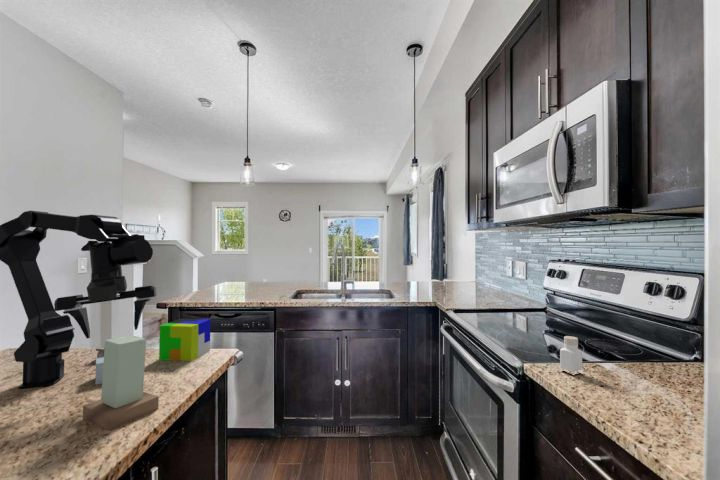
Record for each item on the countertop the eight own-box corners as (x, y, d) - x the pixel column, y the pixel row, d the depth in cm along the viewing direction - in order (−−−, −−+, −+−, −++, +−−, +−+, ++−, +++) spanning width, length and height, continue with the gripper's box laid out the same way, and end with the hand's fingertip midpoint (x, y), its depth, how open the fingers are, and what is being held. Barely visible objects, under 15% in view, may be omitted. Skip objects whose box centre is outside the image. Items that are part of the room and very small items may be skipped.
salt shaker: (573, 376, 88) (573, 340, 89) (559, 371, 92) (559, 336, 92) (583, 374, 90) (583, 338, 90) (568, 369, 94) (568, 335, 94)
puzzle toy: (209, 350, 108) (210, 319, 108) (191, 361, 98) (191, 326, 98) (180, 349, 109) (181, 318, 109) (159, 359, 99) (159, 325, 99)
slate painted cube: (95, 384, 81) (96, 363, 81) (95, 378, 85) (96, 358, 85) (121, 380, 84) (121, 359, 84) (119, 374, 88) (120, 354, 88)
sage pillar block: (100, 402, 66) (105, 340, 66) (128, 393, 70) (131, 335, 71) (115, 408, 64) (119, 344, 64) (142, 398, 68) (146, 338, 68)
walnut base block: (82, 421, 65) (82, 405, 65) (131, 402, 73) (131, 388, 73) (110, 433, 61) (110, 416, 61) (158, 411, 69) (158, 396, 69)
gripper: (41, 273, 68) (48, 350, 68) (148, 261, 77) (155, 330, 76) (60, 273, 78) (66, 340, 78) (153, 263, 87) (159, 324, 86)
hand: (112, 333), depth 79 cm, fingers open, 9 cm apart
